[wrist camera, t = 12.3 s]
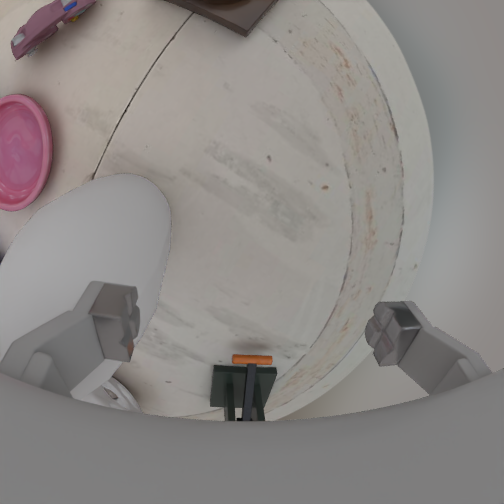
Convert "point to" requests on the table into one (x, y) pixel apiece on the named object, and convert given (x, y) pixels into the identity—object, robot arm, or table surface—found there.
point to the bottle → (86, 258)
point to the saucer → (23, 151)
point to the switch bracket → (240, 390)
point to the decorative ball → (105, 399)
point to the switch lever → (249, 379)
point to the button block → (230, 12)
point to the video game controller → (46, 24)
